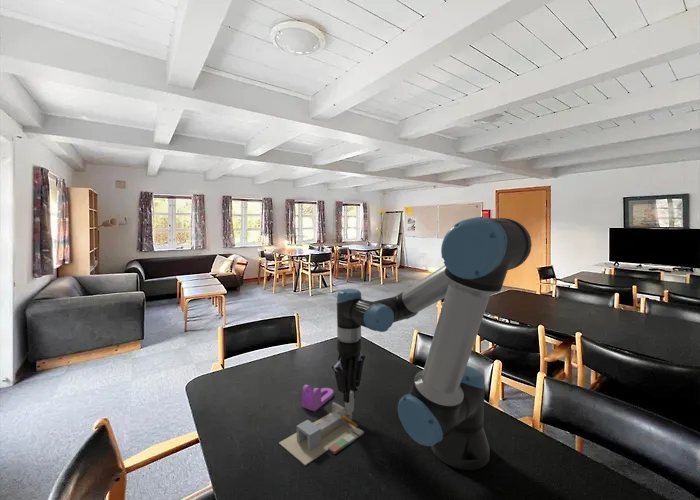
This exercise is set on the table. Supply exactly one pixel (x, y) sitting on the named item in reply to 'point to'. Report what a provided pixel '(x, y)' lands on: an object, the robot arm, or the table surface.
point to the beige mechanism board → (318, 440)
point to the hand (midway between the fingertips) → (349, 410)
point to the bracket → (315, 397)
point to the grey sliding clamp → (336, 420)
